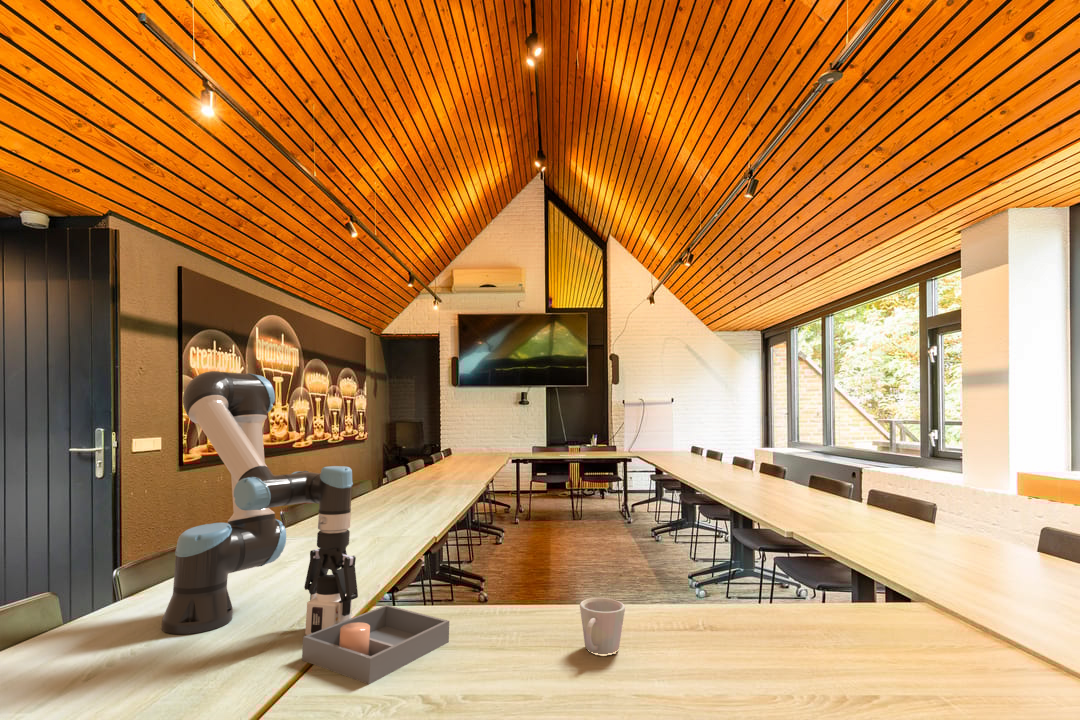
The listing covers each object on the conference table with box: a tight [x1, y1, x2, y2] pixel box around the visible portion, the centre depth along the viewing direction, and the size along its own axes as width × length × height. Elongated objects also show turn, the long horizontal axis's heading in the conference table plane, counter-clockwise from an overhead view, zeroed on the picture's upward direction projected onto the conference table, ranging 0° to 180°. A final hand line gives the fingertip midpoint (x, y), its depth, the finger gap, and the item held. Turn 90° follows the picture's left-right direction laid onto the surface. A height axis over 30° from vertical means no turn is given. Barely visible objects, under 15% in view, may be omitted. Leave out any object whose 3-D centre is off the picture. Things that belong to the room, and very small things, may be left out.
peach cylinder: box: [339, 622, 370, 656], centre depth 118 cm, size 6×6×7 cm
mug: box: [579, 597, 626, 654], centre depth 127 cm, size 10×15×10 cm
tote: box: [301, 604, 450, 685], centre depth 124 cm, size 20×24×6 cm
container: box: [305, 573, 353, 636], centre depth 137 cm, size 8×8×13 cm
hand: (328, 624), depth 136 cm, fingers closed on container, 9 cm apart
